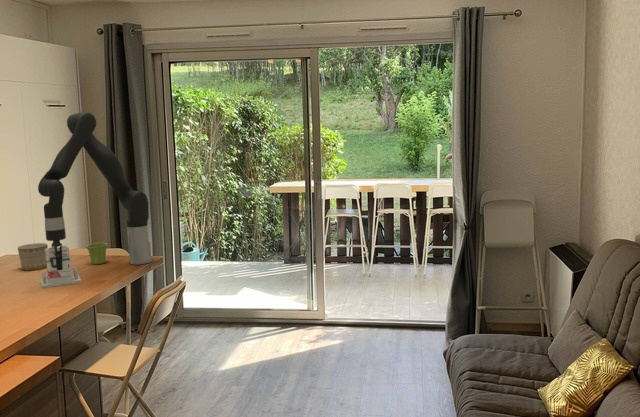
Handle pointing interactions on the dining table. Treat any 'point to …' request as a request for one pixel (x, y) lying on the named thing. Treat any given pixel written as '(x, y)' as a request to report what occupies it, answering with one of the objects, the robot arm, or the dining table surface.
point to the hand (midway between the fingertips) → (59, 268)
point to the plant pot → (97, 252)
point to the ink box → (52, 263)
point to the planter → (33, 256)
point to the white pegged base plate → (60, 279)
